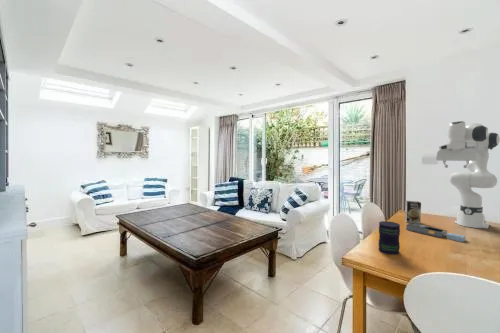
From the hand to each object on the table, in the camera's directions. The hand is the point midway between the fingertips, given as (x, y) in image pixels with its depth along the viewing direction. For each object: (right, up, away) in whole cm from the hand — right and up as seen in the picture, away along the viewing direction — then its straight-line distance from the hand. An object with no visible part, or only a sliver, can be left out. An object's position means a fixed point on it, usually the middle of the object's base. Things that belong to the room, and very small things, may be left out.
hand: (455, 167), depth 158 cm
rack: (-16, -43, +4) cm, 46 cm away
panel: (-8, -44, -9) cm, 46 cm away
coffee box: (-8, -42, +29) cm, 52 cm away
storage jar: (-59, -45, -27) cm, 79 cm away
